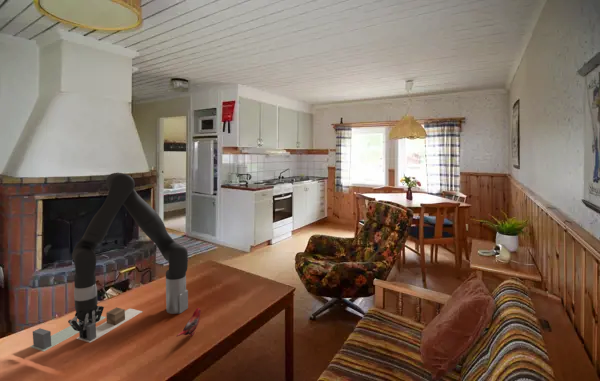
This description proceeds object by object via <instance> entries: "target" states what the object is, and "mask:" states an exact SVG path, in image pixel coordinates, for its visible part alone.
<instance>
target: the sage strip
mask: <svg viewBox="0 0 600 381" xmlns="http://www.w3.org/2000/svg"><path fill="white" fill-rule="evenodd" d="M97 317H98V315H97ZM104 319H107V316H104V315H101V318H100V320H99V321H98V322H96V324H97V323H99V322H100V321H103V320H104ZM77 324H78V325H79V323H77ZM77 334H79V331H76V330H74V329H73V328H72V326H71V325H69V326H67V327H66V328H64V329H62V330H59V331H58V332H56V333H53V334H52V333H51V331H50V330H47V329H44V328H41V327H40V328H38V329H35V330H33V331H32V342H33V343H32V344H33V345H30V346H29V347H30V348H31V349H35V350H38V351H41V352H46V351H48V350H49V349H51V348H54V347H55V346H56V345H58V344H60V343H62V342H64V341H66V340H68V339H69V338H71V337H73V336H75V335H77Z"/></svg>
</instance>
